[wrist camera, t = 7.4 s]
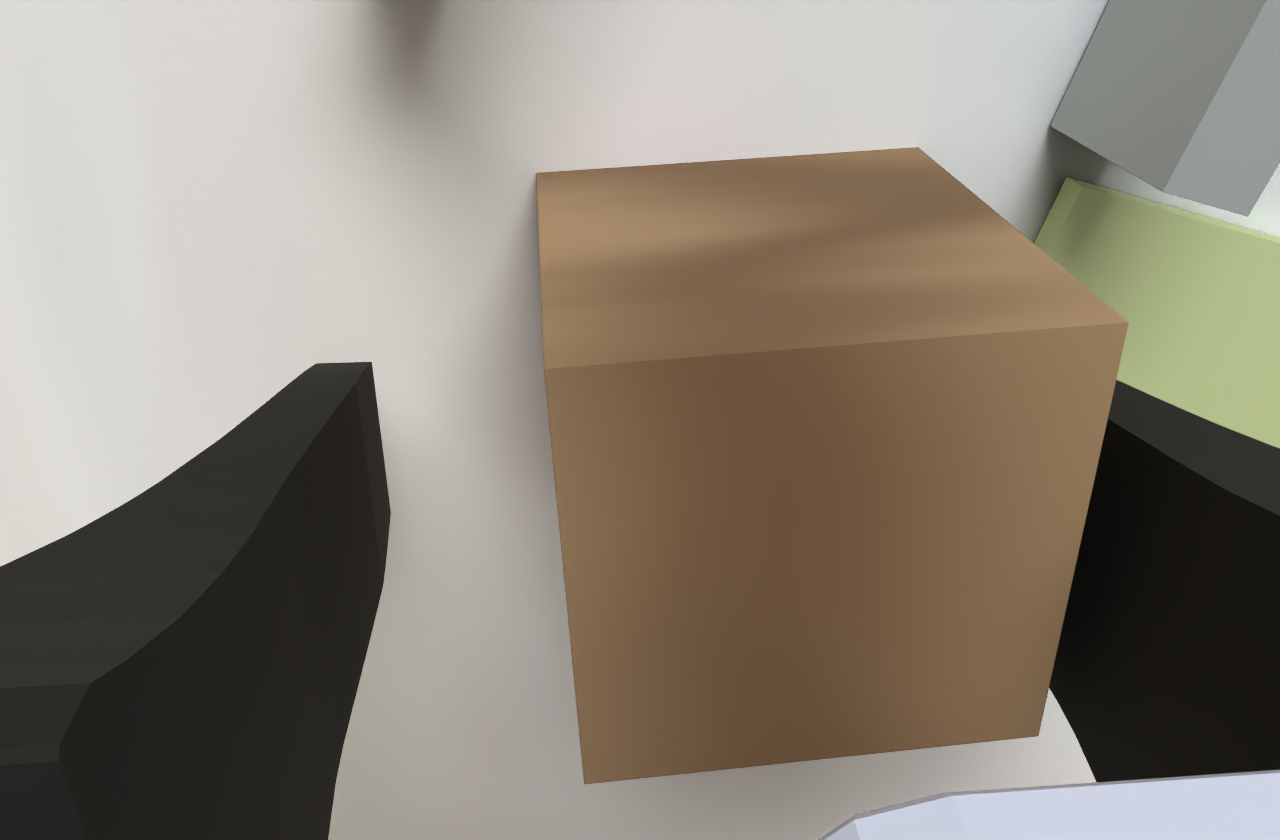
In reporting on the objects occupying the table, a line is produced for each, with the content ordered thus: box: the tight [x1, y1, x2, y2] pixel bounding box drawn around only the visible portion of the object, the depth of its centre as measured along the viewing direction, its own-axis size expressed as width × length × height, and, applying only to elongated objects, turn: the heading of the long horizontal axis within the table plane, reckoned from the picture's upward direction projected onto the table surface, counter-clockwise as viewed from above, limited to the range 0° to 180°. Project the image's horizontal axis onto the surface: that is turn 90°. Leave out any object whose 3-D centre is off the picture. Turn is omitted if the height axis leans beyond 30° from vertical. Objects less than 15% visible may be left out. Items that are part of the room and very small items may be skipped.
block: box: [536, 147, 1129, 784], centre depth 11 cm, size 4×4×5 cm
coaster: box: [1034, 177, 1280, 448], centre depth 14 cm, size 6×6×1 cm
